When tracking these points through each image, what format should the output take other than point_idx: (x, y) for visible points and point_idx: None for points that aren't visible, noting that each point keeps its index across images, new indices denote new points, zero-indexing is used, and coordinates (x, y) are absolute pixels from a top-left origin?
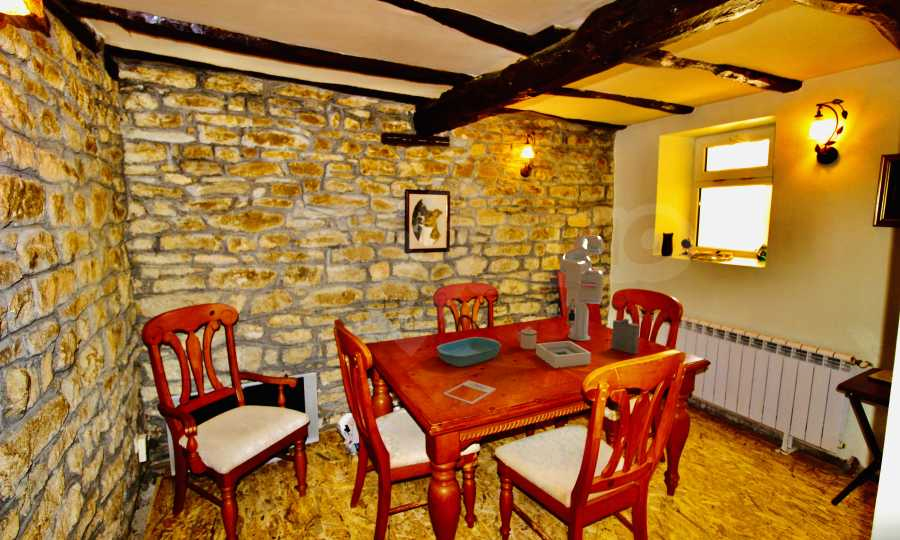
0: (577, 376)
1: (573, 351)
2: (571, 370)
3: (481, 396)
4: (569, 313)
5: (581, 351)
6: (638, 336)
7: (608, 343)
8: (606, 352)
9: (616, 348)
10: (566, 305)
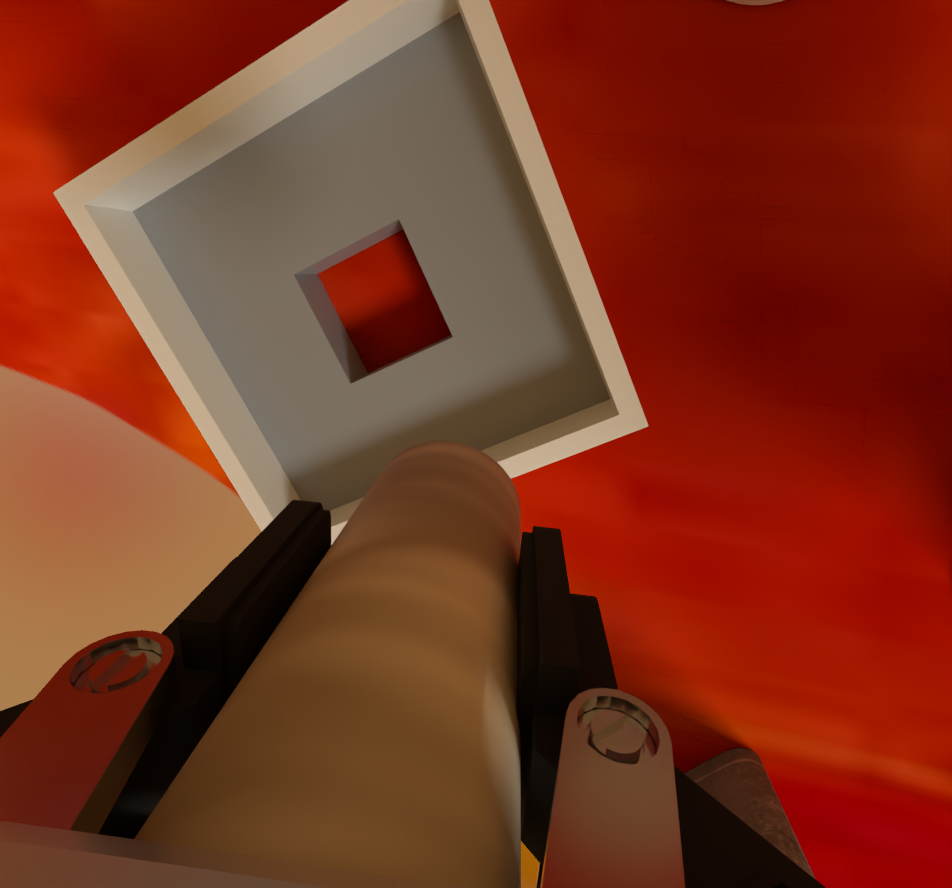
0: (44, 376)
1: (465, 425)
2: (146, 348)
3: None
4: (187, 636)
5: None
6: None
7: (868, 757)
8: (623, 686)
9: (700, 774)
10: (61, 882)
